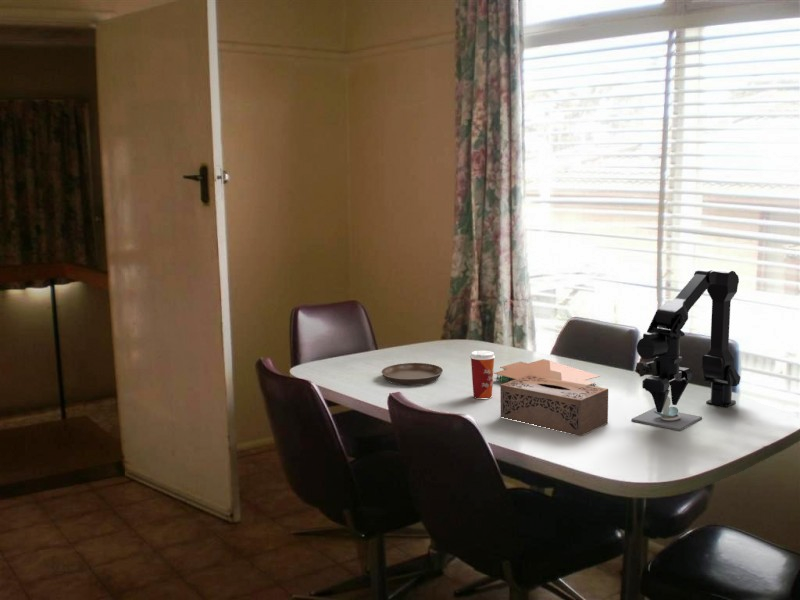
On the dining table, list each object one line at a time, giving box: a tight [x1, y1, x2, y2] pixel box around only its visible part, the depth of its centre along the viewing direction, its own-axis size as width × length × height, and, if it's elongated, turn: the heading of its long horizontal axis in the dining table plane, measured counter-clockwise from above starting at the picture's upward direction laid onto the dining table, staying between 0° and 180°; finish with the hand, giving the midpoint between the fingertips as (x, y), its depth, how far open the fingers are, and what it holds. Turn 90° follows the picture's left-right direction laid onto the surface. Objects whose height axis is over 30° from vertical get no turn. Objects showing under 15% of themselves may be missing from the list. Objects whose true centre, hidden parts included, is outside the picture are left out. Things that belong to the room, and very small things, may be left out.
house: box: [493, 359, 601, 386], centre depth 276 cm, size 23×33×8 cm
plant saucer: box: [381, 362, 444, 386], centre depth 286 cm, size 21×21×3 cm
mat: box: [631, 407, 703, 431], centre depth 236 cm, size 14×14×1 cm
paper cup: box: [469, 350, 496, 399], centre depth 261 cm, size 8×8×14 cm
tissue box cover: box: [500, 375, 609, 437], centre depth 237 cm, size 26×14×10 cm, turn 48°
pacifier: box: [654, 395, 681, 421], centre depth 234 cm, size 7×6×6 cm
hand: (666, 408), depth 235 cm, fingers open, 9 cm apart
